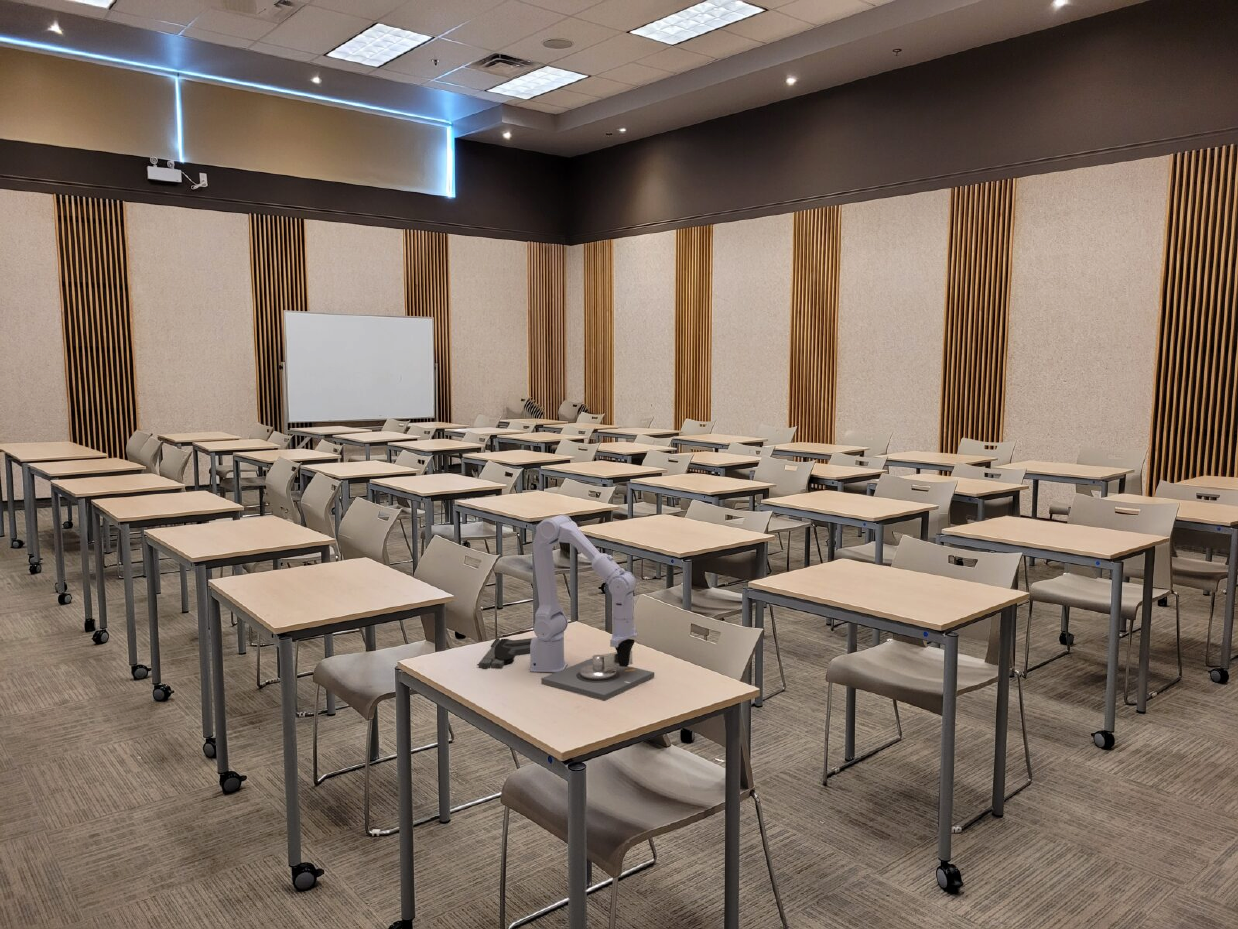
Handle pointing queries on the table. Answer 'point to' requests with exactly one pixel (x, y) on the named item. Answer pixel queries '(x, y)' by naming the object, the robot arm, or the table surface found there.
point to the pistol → (504, 652)
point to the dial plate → (597, 681)
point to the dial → (602, 667)
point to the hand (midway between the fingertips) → (624, 665)
